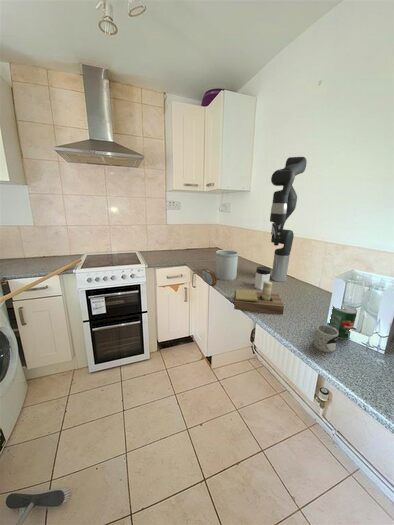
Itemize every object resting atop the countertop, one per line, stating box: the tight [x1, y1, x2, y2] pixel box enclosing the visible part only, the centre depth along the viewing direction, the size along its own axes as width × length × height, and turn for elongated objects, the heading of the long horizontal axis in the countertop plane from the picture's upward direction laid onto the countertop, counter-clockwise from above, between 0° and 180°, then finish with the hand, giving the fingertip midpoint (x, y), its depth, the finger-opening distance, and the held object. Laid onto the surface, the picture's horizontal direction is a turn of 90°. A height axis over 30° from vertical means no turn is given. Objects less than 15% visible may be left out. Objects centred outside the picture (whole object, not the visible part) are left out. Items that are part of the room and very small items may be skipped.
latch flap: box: [235, 289, 258, 301], centre depth 107 cm, size 11×10×1 cm
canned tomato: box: [328, 305, 358, 340], centre depth 84 cm, size 8×8×11 cm
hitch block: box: [233, 289, 285, 315], centre depth 107 cm, size 14×22×4 cm, turn 80°
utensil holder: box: [215, 249, 240, 282], centre depth 144 cm, size 15×15×18 cm
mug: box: [313, 324, 339, 354], centre depth 77 cm, size 10×7×7 cm
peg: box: [261, 281, 273, 301], centre depth 105 cm, size 4×4×12 cm
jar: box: [254, 265, 272, 291], centre depth 129 cm, size 9×8×12 cm
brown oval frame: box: [201, 268, 218, 287], centre depth 133 cm, size 15×3×8 cm, turn 26°
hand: (274, 243), depth 115 cm, fingers open, 8 cm apart
